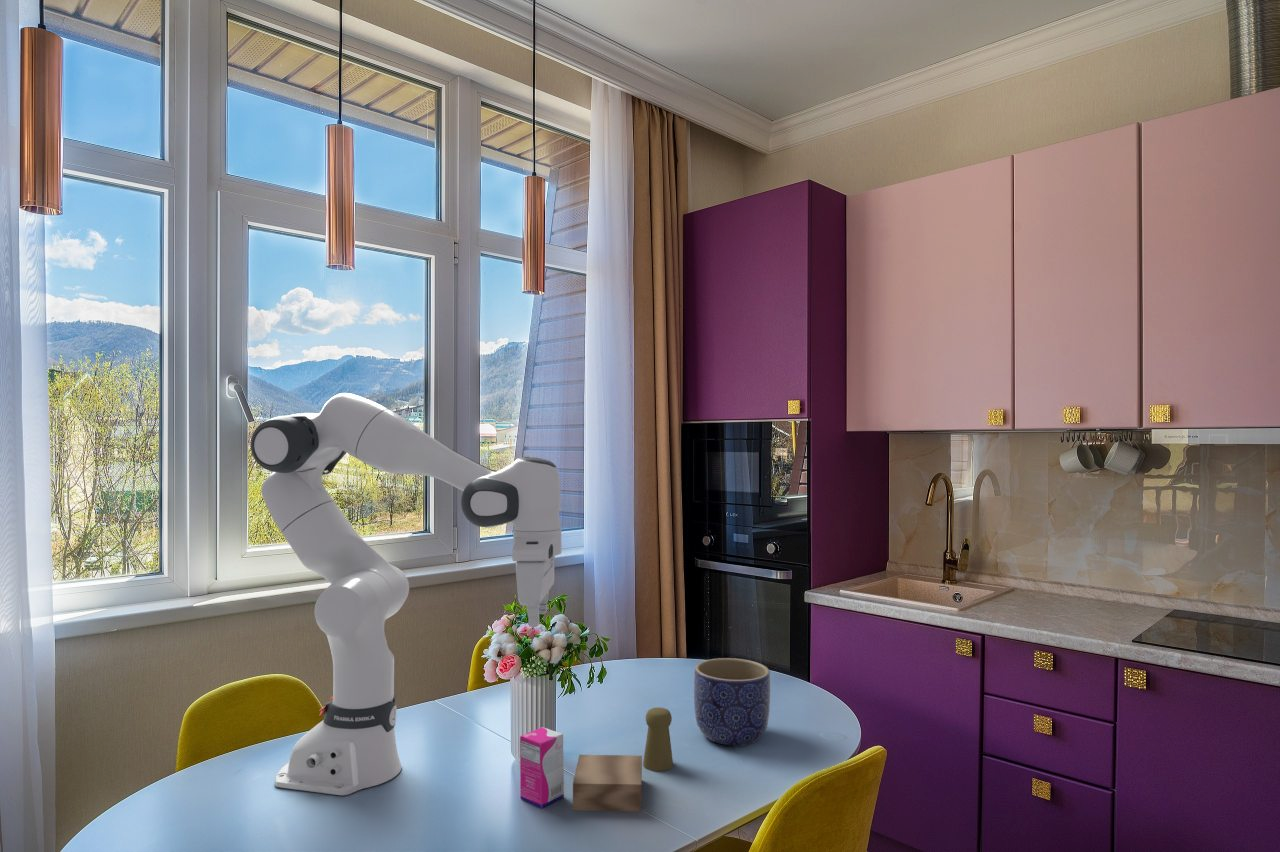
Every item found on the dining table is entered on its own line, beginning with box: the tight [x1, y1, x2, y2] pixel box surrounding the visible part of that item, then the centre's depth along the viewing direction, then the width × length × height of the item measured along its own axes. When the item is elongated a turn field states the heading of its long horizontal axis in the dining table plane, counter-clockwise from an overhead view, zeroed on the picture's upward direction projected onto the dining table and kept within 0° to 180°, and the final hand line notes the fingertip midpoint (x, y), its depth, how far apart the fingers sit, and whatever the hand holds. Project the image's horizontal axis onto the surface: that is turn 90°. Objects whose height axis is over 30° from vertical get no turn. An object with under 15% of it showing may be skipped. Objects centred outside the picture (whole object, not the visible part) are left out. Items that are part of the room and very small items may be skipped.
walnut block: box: [572, 754, 643, 812], centre depth 139 cm, size 12×12×5 cm
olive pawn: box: [642, 707, 674, 772], centre depth 152 cm, size 6×6×11 cm
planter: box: [693, 657, 771, 747], centre depth 166 cm, size 17×17×15 cm
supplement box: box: [519, 726, 565, 809], centre depth 137 cm, size 6×6×12 cm
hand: (538, 619), depth 140 cm, fingers open, 8 cm apart
